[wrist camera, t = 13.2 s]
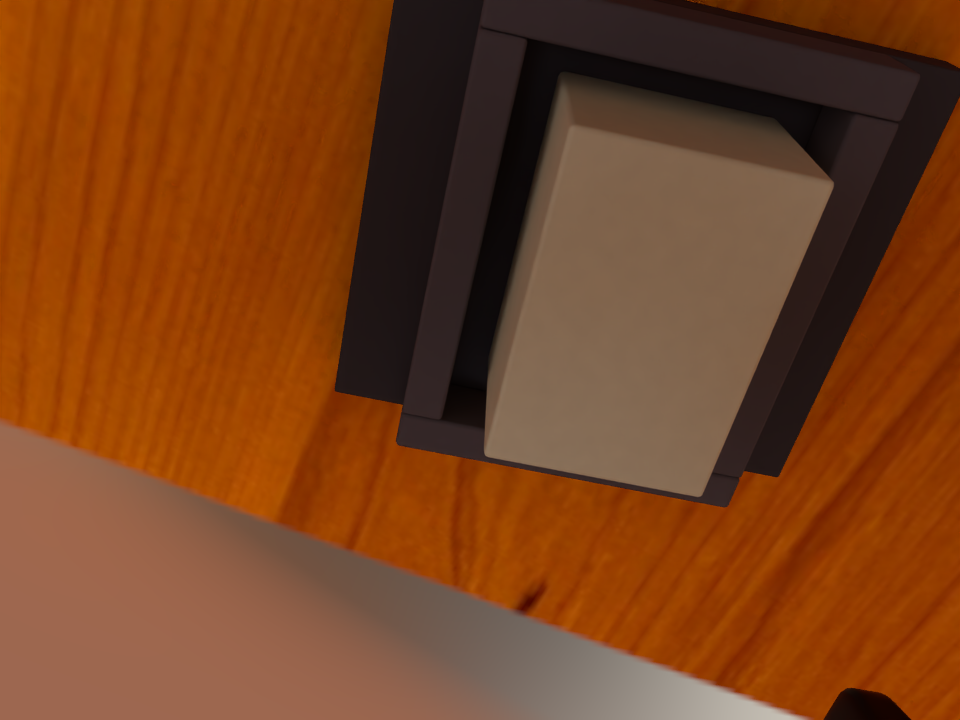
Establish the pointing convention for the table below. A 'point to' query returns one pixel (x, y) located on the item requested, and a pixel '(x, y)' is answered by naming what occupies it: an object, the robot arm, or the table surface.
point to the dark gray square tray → (510, 169)
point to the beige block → (645, 283)
